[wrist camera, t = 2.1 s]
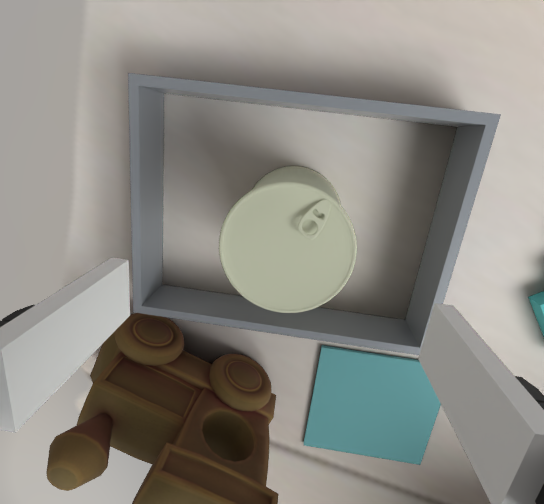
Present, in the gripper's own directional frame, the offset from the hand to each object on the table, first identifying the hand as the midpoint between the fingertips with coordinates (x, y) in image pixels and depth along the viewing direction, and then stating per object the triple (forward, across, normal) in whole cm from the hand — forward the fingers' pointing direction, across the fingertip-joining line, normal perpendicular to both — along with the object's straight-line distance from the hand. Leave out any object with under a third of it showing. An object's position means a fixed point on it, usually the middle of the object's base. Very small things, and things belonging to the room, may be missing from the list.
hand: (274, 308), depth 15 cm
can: (+20, 0, 0) cm, 20 cm away
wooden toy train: (+20, +9, +20) cm, 30 cm away
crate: (+20, 0, 0) cm, 20 cm away
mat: (+20, -12, +21) cm, 31 cm away
